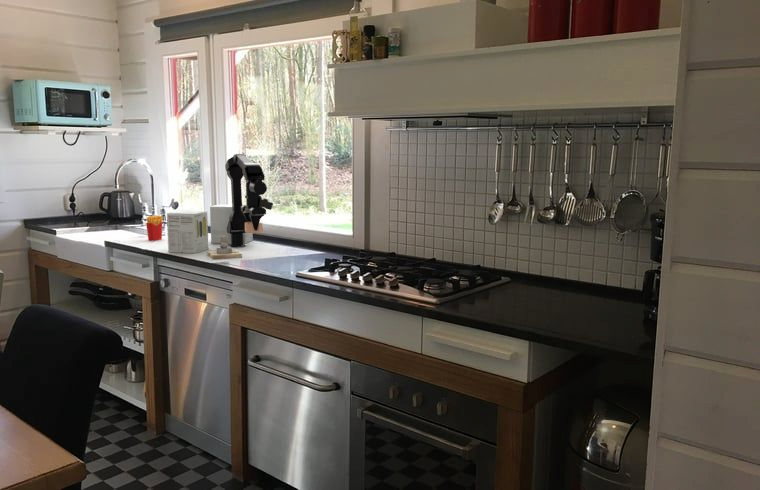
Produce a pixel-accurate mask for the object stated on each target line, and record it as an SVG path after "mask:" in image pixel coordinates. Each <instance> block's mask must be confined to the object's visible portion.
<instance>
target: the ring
mask: <svg viewBox="0 0 760 490" xmlns="http://www.w3.org/2000/svg"><path fill="white" fill-rule="evenodd" d="M245 232H246V233H253V234H258V233H263V222H262V221H260V222H259V226H258V230H256V231H255V230H254V227H253V224H252V222H246V223H245Z"/></svg>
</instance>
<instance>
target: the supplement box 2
mask: <svg viewBox="0 0 760 490" xmlns="http://www.w3.org/2000/svg"><path fill="white" fill-rule="evenodd" d="M231 213H232V204H223V203H222V204H215V205H210V206H209V215H210V216H209V217H210V243H211V244H221V236H227V245H229V244H231V234H229V233H227V225H228V222H229V217H230V215H231ZM231 231H232V230H231ZM235 231H242V230H235ZM253 234H254V233H243V240H244V244H245V245H246V244H247V243H249V242H252V241H253V240H254V236H253Z"/></svg>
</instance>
